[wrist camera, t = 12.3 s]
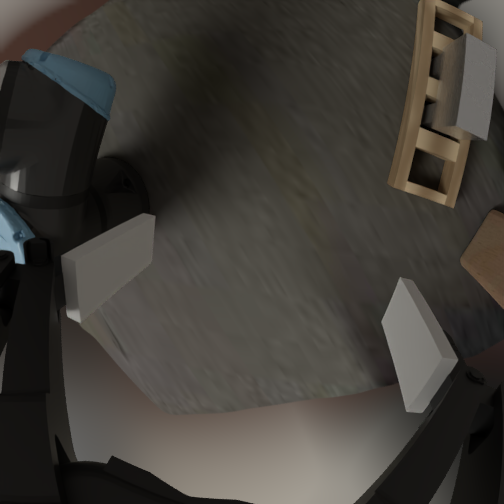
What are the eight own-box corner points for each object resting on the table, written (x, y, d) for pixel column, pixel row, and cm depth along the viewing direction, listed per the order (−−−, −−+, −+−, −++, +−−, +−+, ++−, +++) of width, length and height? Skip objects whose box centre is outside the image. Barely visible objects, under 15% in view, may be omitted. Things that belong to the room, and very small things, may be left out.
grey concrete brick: (417, 128, 34) (455, 126, 23) (429, 56, 30) (466, 32, 19) (443, 138, 34) (486, 140, 23) (454, 67, 30) (496, 49, 19)
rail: (387, 183, 38) (393, 187, 34) (418, 3, 27) (425, -6, 24) (443, 202, 37) (453, 208, 33) (472, 27, 26) (482, 21, 23)
